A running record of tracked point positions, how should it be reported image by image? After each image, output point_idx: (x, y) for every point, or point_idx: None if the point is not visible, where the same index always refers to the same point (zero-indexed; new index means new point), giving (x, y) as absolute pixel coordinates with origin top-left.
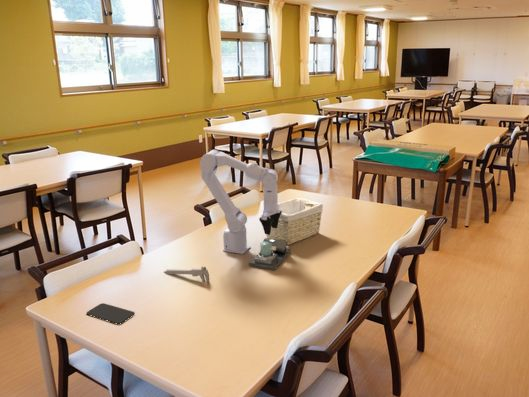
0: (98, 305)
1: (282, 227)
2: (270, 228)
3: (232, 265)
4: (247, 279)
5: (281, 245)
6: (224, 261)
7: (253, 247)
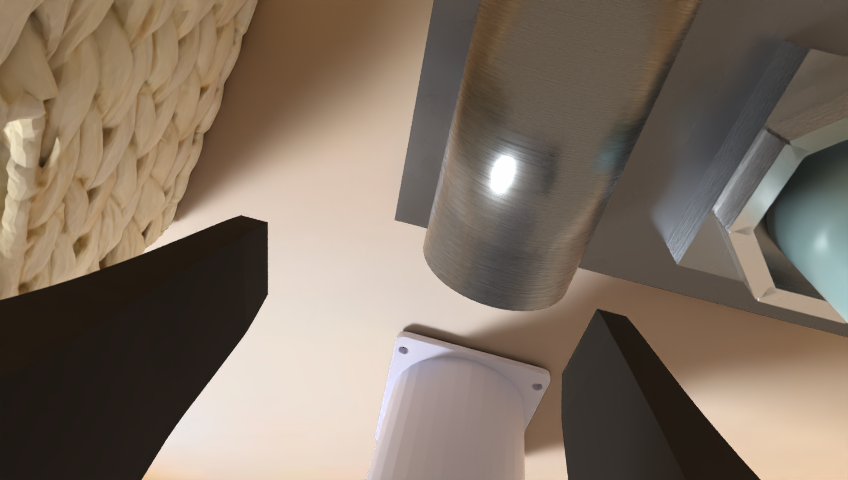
0: None
1: (83, 108)
2: (687, 416)
3: (776, 416)
4: None
5: (694, 14)
6: None
7: (395, 307)
